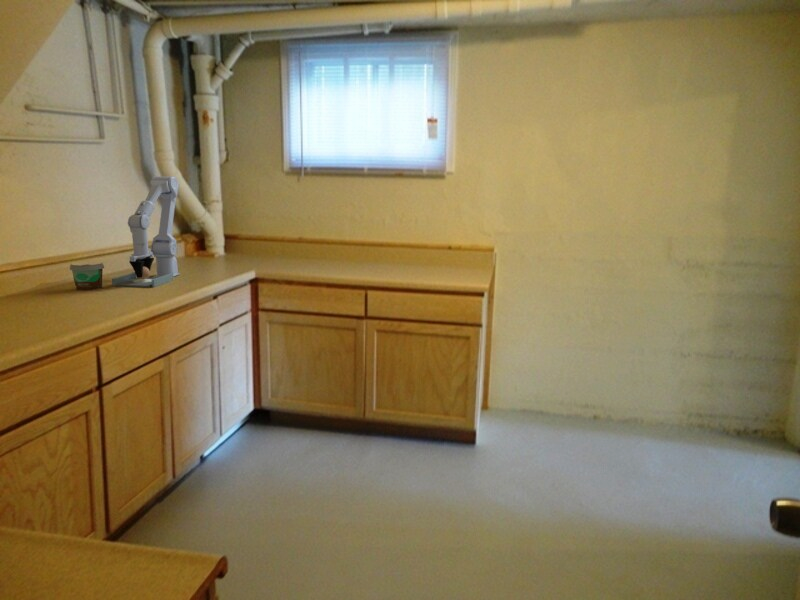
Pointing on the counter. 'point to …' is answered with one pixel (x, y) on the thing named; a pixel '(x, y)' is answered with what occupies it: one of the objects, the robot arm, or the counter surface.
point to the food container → (87, 276)
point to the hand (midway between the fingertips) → (143, 276)
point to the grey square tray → (132, 275)
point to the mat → (137, 282)
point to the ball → (145, 273)
